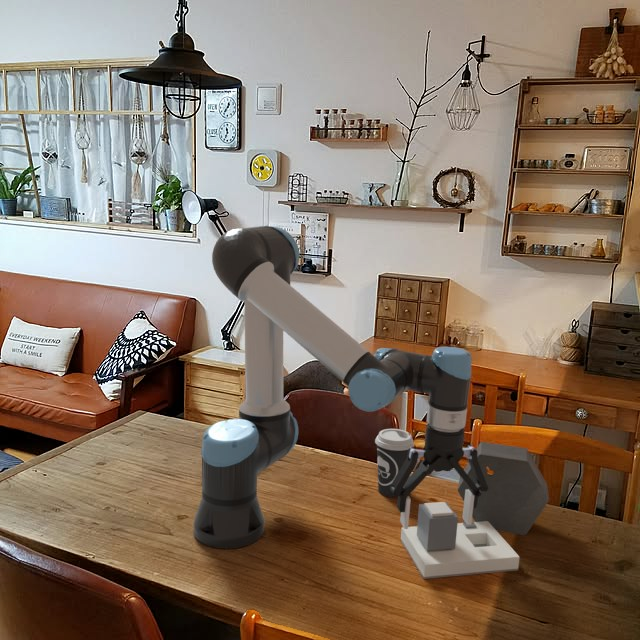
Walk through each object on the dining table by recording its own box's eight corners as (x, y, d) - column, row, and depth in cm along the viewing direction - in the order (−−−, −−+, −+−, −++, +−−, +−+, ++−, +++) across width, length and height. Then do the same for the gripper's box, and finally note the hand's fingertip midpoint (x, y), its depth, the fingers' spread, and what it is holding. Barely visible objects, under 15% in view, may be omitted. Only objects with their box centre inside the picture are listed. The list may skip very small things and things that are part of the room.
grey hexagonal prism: (558, 505, 146) (514, 427, 146) (561, 521, 139) (515, 439, 139) (491, 531, 152) (448, 455, 152) (490, 548, 145) (445, 469, 144)
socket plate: (423, 578, 125) (425, 563, 124) (400, 540, 138) (401, 525, 138) (518, 570, 129) (519, 554, 128) (486, 533, 142) (488, 519, 142)
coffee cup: (409, 502, 155) (413, 444, 152) (369, 497, 157) (373, 439, 154) (411, 485, 164) (415, 429, 161) (374, 480, 166) (377, 425, 163)
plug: (425, 564, 129) (429, 516, 127) (415, 548, 135) (419, 501, 132) (453, 562, 130) (458, 514, 128) (442, 545, 136) (446, 499, 134)
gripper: (391, 434, 120) (382, 537, 125) (512, 431, 126) (500, 529, 130) (379, 420, 128) (371, 517, 132) (495, 417, 133) (484, 510, 137)
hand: (435, 523), depth 131 cm, fingers open, 13 cm apart
